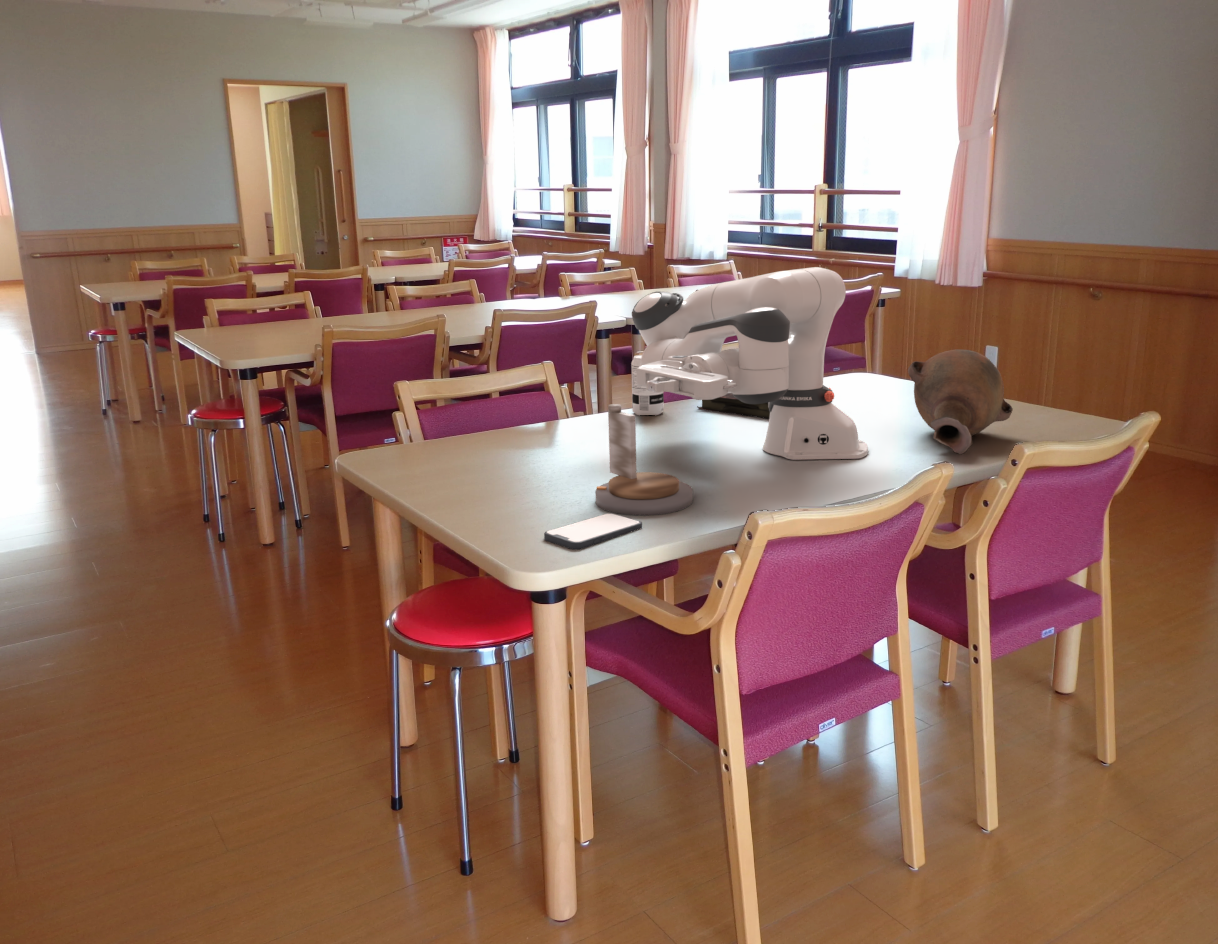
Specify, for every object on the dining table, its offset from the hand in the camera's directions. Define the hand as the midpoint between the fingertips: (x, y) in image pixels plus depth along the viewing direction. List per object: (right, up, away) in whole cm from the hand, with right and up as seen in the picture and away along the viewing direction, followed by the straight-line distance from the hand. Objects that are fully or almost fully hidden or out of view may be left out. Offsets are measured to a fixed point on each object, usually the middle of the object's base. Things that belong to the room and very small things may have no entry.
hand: (651, 387), depth 187 cm
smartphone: (-11, -27, -20) cm, 35 cm away
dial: (-2, -19, -3) cm, 19 cm away
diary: (+30, 0, +74) cm, 80 cm away
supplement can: (+2, -1, +73) cm, 73 cm away
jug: (+69, -9, +35) cm, 78 cm away
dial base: (-2, -21, -3) cm, 22 cm away
